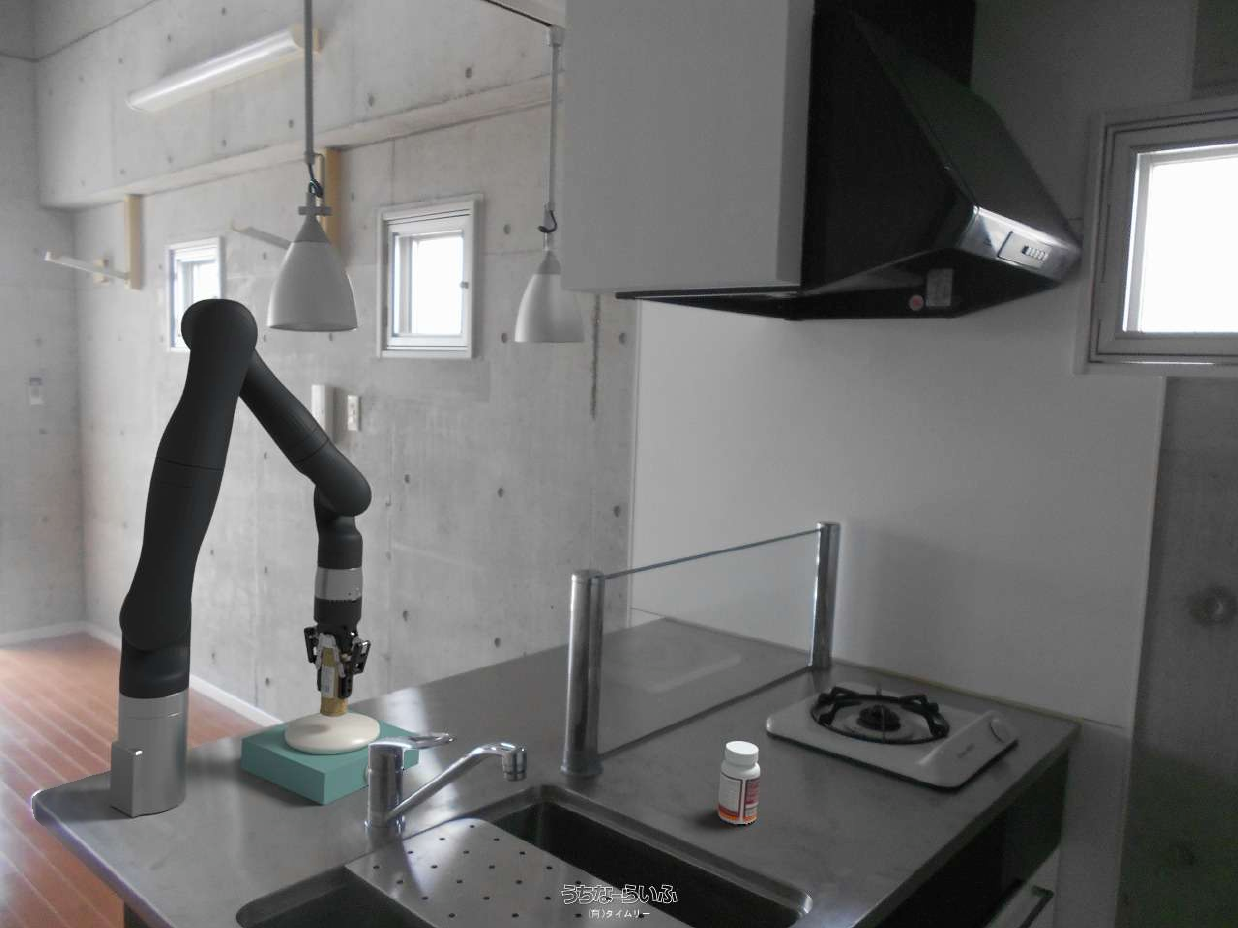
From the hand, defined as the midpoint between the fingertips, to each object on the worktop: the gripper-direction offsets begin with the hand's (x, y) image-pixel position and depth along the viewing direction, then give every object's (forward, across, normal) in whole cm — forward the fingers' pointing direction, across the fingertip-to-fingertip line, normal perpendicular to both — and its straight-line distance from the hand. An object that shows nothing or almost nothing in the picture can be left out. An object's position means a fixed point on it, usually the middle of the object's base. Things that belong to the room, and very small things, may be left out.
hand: (334, 693), depth 149 cm
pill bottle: (+13, +61, +28) cm, 68 cm away
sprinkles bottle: (+3, 0, 0) cm, 3 cm away
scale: (+12, 0, 0) cm, 12 cm away
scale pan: (+7, 0, 0) cm, 7 cm away
